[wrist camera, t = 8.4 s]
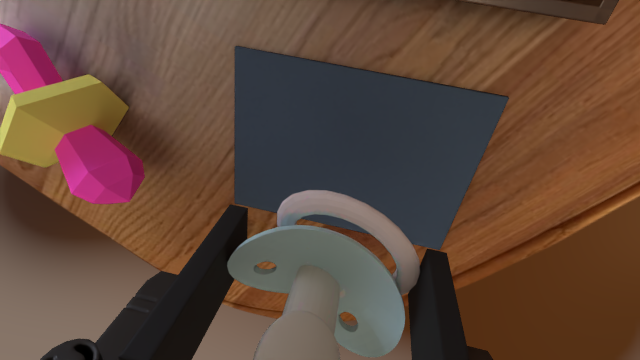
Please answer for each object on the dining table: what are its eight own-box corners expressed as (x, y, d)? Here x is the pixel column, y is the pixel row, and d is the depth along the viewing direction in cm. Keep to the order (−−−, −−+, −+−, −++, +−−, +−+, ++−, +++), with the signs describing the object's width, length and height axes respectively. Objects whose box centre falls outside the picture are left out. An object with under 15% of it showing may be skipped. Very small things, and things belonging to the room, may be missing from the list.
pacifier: (308, 149, 12) (233, 242, 15) (246, 274, 6) (146, 383, 9) (454, 258, 13) (359, 324, 16) (505, 440, 8) (346, 492, 11)
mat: (235, 201, 35) (234, 203, 35) (236, 45, 27) (234, 46, 27) (439, 247, 34) (439, 250, 33) (507, 96, 25) (509, 97, 25)
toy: (59, -14, 28) (-114, 6, 22) (189, 149, 28) (52, 217, 21) (74, 65, 36) (-49, 96, 30) (175, 192, 36) (73, 251, 29)
